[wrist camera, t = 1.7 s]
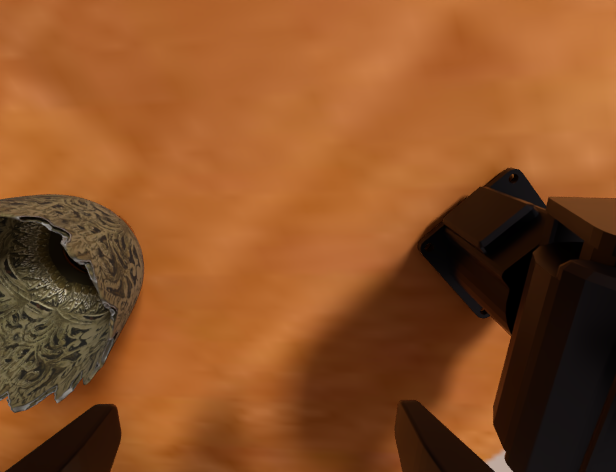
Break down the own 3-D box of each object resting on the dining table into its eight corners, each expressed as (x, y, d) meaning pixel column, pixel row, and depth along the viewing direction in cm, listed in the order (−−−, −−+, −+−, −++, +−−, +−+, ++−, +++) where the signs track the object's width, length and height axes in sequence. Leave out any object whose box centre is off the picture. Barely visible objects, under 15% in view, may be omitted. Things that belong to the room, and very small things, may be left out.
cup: (8, 252, 19) (-176, 343, 11) (71, 138, 17) (-95, 156, 10) (135, 323, 21) (48, 443, 13) (204, 225, 19) (149, 298, 12)
